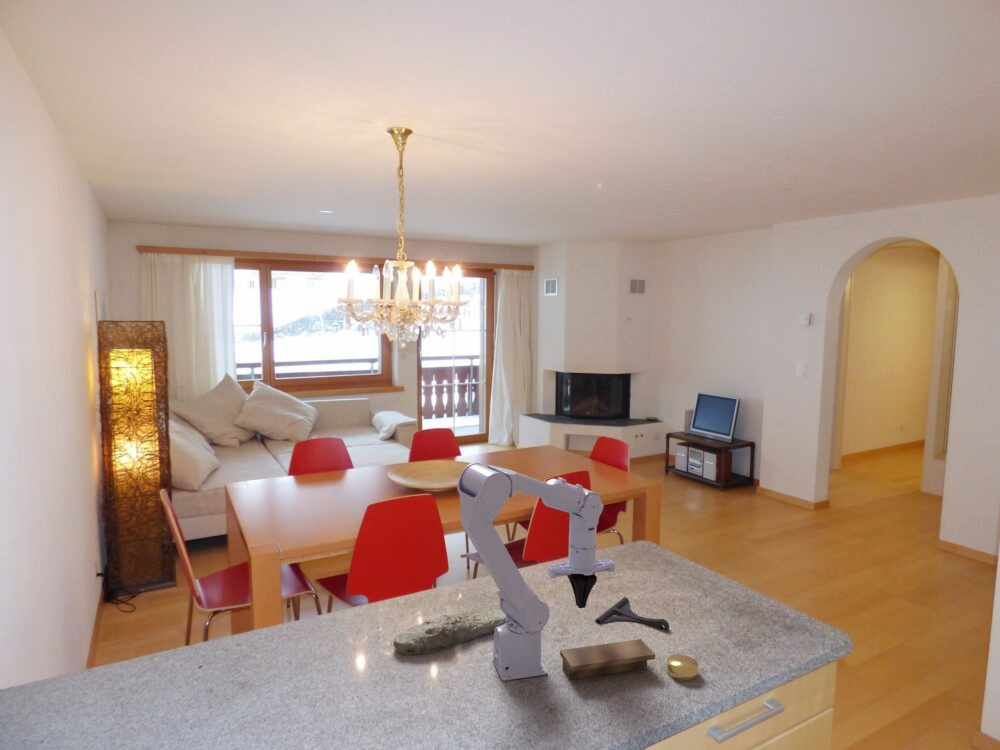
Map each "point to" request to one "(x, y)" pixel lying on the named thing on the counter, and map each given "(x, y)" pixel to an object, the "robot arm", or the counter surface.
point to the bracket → (629, 616)
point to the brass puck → (682, 668)
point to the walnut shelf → (605, 658)
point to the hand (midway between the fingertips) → (580, 606)
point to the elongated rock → (449, 630)
